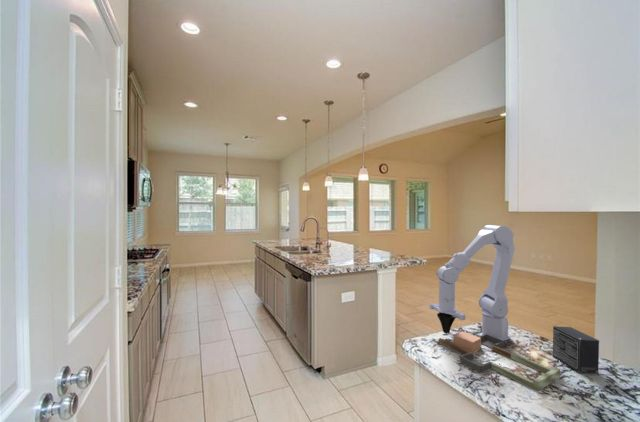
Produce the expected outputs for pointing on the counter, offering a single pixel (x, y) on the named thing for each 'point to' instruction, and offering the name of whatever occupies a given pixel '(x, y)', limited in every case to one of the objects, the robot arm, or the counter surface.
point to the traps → (477, 365)
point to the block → (467, 341)
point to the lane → (536, 384)
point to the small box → (576, 349)
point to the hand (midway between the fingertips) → (446, 332)
